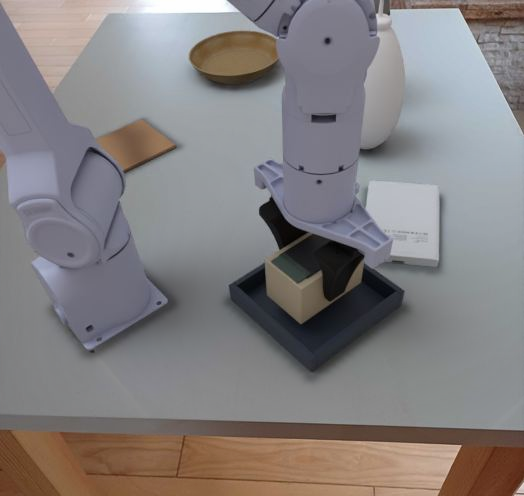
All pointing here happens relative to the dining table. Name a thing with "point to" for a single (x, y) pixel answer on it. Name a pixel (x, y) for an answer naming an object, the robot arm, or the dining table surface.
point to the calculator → (301, 278)
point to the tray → (319, 315)
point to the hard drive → (407, 220)
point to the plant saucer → (235, 56)
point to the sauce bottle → (383, 86)
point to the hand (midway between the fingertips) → (314, 279)
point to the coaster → (135, 144)
